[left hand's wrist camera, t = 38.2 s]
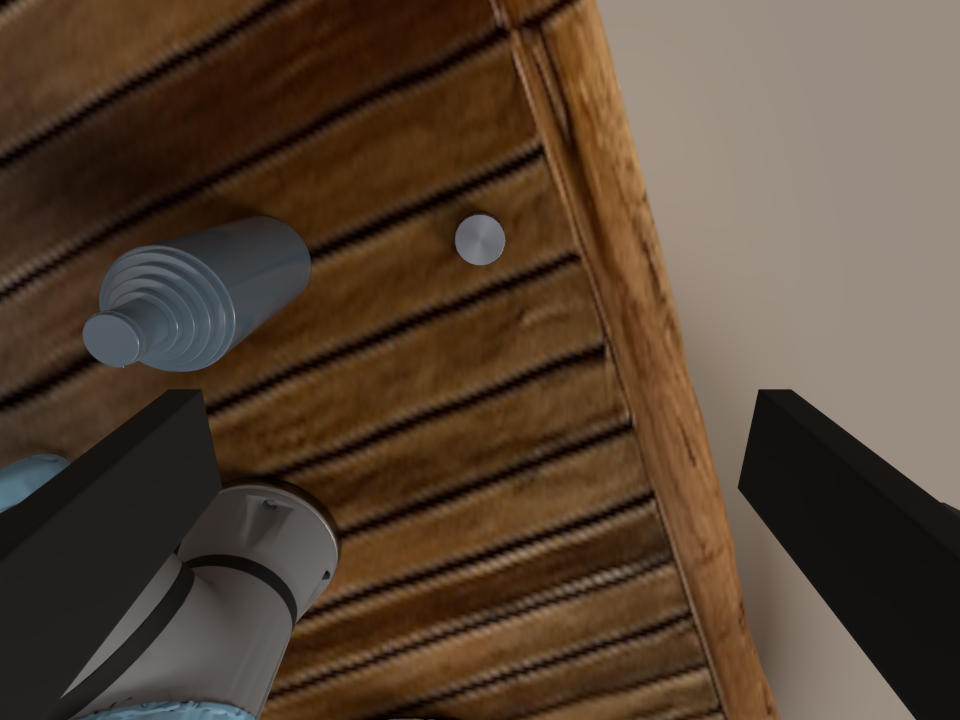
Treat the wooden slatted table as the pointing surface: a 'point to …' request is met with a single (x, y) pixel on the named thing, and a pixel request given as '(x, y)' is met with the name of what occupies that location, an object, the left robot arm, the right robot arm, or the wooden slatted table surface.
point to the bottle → (196, 294)
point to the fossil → (408, 719)
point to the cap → (480, 238)
